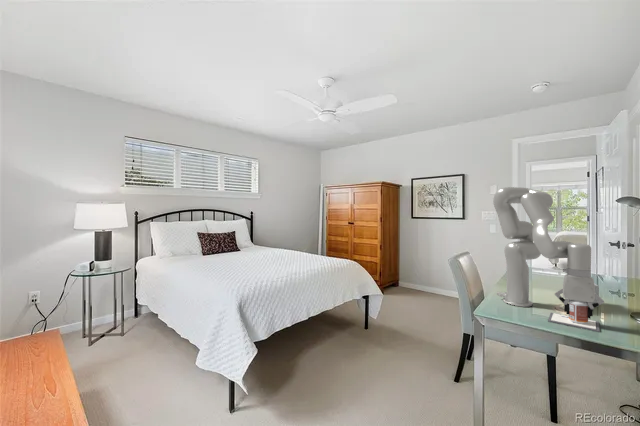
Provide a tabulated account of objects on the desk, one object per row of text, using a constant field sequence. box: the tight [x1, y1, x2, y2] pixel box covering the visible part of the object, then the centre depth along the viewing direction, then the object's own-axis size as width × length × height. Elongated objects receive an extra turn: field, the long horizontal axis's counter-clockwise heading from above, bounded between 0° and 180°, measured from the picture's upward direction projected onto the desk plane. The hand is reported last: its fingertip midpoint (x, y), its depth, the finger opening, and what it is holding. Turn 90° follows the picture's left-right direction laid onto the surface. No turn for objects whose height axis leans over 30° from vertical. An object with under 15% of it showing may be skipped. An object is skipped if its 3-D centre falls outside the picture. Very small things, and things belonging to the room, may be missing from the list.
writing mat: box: [547, 312, 601, 333], centre depth 124 cm, size 16×13×1 cm
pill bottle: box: [568, 300, 589, 324], centre depth 122 cm, size 6×6×11 cm
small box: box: [588, 282, 600, 308], centre depth 147 cm, size 8×6×10 cm
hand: (578, 315), depth 123 cm, fingers closed on pill bottle, 6 cm apart
